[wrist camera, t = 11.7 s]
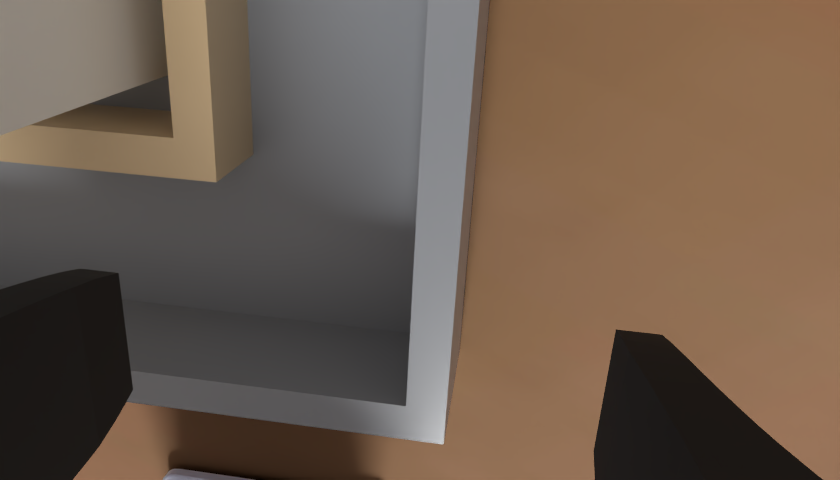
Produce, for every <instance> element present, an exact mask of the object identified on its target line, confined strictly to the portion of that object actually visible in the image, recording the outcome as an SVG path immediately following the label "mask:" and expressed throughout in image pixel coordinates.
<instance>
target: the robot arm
mask: <svg viewBox="0 0 840 480" xmlns="http://www.w3.org/2000/svg"><path fill="white" fill-rule="evenodd" d="M132 391H133V385H132V376H131V368H130V360H129V352H128V344H127V336H126V328H125V320H124V312H123V304H122V296H121V288H120V280H119V273H115V272H106V271H97V270H89V269H75V270H69V271H64V272H59V273H55V274H51V275H47V276H44V277H40V278H36V279H33V280H29V281H26V282H23V283H19V284H16V285H13V286H10V287H6V288H3V289H0V480H73V478H74V477H75V476H76V475H77V474H78V472H79V471H80V470H81V469H82V467H83V466H84V465H85V464H86V462H87V461H88V460H89V459H90V457H91V456H92V455H93V453H94V452H95V451H96V450H97V448H98V447H99V446H100V444H101V443H102V441H103V439H104V438H105V436H106V435H107V433H108V432H109V430H110V428H111V427H112V425H113V424H114V422H115V421H116V419H117V417H118V415H119V414H120V412H121V410H122V408H123V407H124V405H125V403H126V401H127V400H128V398H129V396H130V394H131V393H132ZM594 467H595V480H822V479H821V478H820V477H819V476H817V475H816V474H815V473H814V472H813V471H811V470H810V469H809V468H808V467H806V466H805V465H804V464H803V463H802V462H800V461H799V460H798V459H797V458H796V457H794V456H793V455H792V454H791V453H790V452H788V451H787V450H786V449H785V448H784V447H782V446H781V445H780V444H779V443H777V442H776V441H775V440H774V439H773V438H772V437H771V436H770V435H768V434H767V433H766V432H765V431H764V430H763V429H762V428H760V427H759V426H758V425H757V424H756V423H755V422H754V421H753V420H752V419H750V418H749V417H748V416H747V415H746V414H745V413H744V412H743V411H742V410H741V409H740V408H738V407H737V406H736V405H735V404H734V403H733V402H732V401H731V400H730V399H729V398H728V397H727V396H726V395H725V394H724V393H723V392H722V391H720V390H719V389H718V388H717V387H716V386H715V385H714V384H713V383H712V382H711V381H710V380H709V379H708V378H707V377H706V376H705V375H704V374H703V373H702V372H701V371H700V370H699V369H698V368H697V367H696V366H695V365H694V364H693V363H692V362H691V361H690V360H689V359H688V358H687V357H686V356H685V355H684V354H683V353H681V352H680V351H679V350H678V349H677V348H676V347H675V346H674V345H673V344H672V343H671V342H670V341H669V340H668V339H666V338H665V337H664V336H663V335H658V334H650V333H641V332H632V331H623V330H616V333H615V338H614V344H613V349H612V354H611V360H610V365H609V371H608V376H607V382H606V387H605V393H604V398H603V404H602V409H601V414H600V420H599V425H598V431H597V436H596V442H595V447H594ZM163 480H254V479H247V478H240V477H233V476H226V475H219V474H213V473H206V472H199V471H192V470H185V469H171V470H169V471H168V473H167V474H166V475H165V477H164V478H163Z"/></svg>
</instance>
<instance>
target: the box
mask: <svg viewBox="0 0 840 480" xmlns="http://www.w3.org/2000/svg"><path fill="white" fill-rule="evenodd" d="M489 4H490V0H162V8H163V20H164V32H165V44H166V56H167V68H168V75H167V76H164V77H161V78H159V79H156V80H153V81H150V82H148V83H145V84H142V85H139V86H136V87H134V88H131V89H128V90H125V91H123V92H120V93H117V94H114V95H111V96H109V97H106V98H103V99H100V100H98V101H95V102H92V103H89V104H86V105H84V106H81V107H78V108H75V109H73V110H70V111H67V112H64V113H62V114H59V115H56V116H53V117H50V118H48V119H45V120H42V121H39V122H37V123H34V124H31V125H28V126H25V127H23V128H20V129H17V130H14V131H12V132H9V133H6V134H3V135H0V289H3V288H6V287H10V286H13V285H16V284H19V283H23V282H26V281H29V280H33V279H36V278H40V277H44V276H47V275H51V274H55V273H59V272H64V271H69V270H75V269H89V270H97V271H106V272H115V273H119V280H120V288H121V296H122V304H123V312H124V320H125V328H126V336H127V344H128V352H129V360H130V368H131V376H132V385H133V391H132V393H131V394H130V396H129V398H128V400H127V401H126V402H132V403H139V404H147V405H154V406H162V407H169V408H176V409H184V410H191V411H199V412H206V413H214V414H221V415H228V416H236V417H243V418H251V419H258V420H266V421H273V422H280V423H288V424H295V425H303V426H310V427H318V428H325V429H332V430H340V431H347V432H355V433H362V434H369V435H377V436H384V437H392V438H399V439H407V440H414V441H421V442H429V443H436V444H444V439H445V433H446V427H447V421H448V415H449V410H450V404H451V398H452V392H453V386H454V380H455V374H456V368H457V363H458V357H459V351H460V339H461V328H462V316H463V305H464V293H465V281H466V270H467V258H468V247H469V235H470V224H471V212H472V201H473V189H474V177H475V166H476V154H477V143H478V131H479V120H480V108H481V96H482V85H483V73H484V62H485V50H486V39H487V27H488V15H489Z"/></svg>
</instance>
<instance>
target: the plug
mask: <svg viewBox="0 0 840 480" xmlns="http://www.w3.org/2000/svg"><path fill="white" fill-rule="evenodd" d="M167 75H168V68H167V56H166V44H165V32H164V20H163V8H162V0H0V135H3V134H6V133H9V132H12V131H14V130H17V129H20V128H23V127H25V126H28V125H31V124H34V123H37V122H39V121H42V120H45V119H48V118H50V117H53V116H56V115H59V114H62V113H64V112H67V111H70V110H73V109H75V108H78V107H81V106H84V105H86V104H89V103H92V102H95V101H98V100H100V99H103V98H106V97H109V96H111V95H114V94H117V93H120V92H123V91H125V90H128V89H131V88H134V87H136V86H139V85H142V84H145V83H148V82H150V81H153V80H156V79H159V78H161V77H164V76H167Z"/></svg>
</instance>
